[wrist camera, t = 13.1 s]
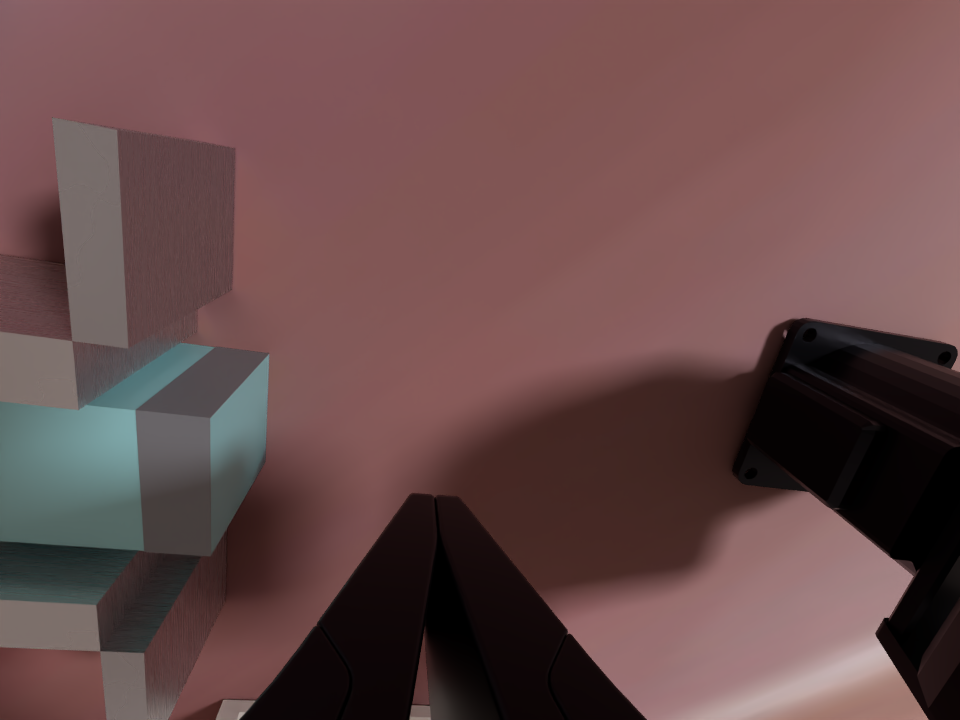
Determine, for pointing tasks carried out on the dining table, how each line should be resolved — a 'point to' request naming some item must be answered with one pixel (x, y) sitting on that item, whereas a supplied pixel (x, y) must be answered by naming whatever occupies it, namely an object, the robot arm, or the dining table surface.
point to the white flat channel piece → (237, 708)
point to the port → (99, 367)
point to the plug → (140, 457)
